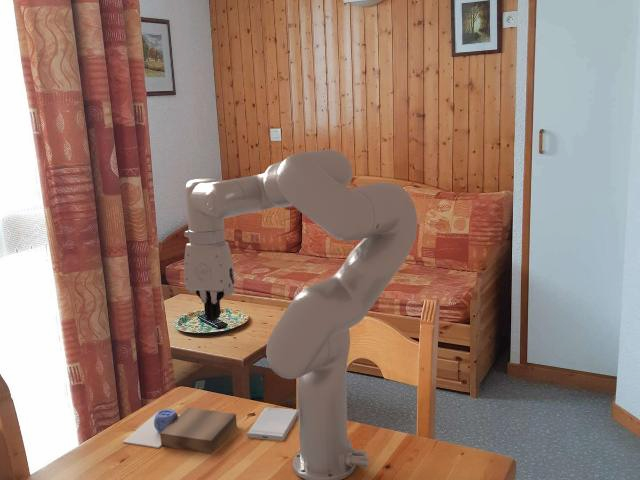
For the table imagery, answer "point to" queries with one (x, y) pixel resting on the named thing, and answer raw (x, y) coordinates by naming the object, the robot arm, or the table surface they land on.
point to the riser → (198, 430)
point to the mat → (146, 435)
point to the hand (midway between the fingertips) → (213, 318)
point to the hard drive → (273, 424)
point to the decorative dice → (164, 419)
